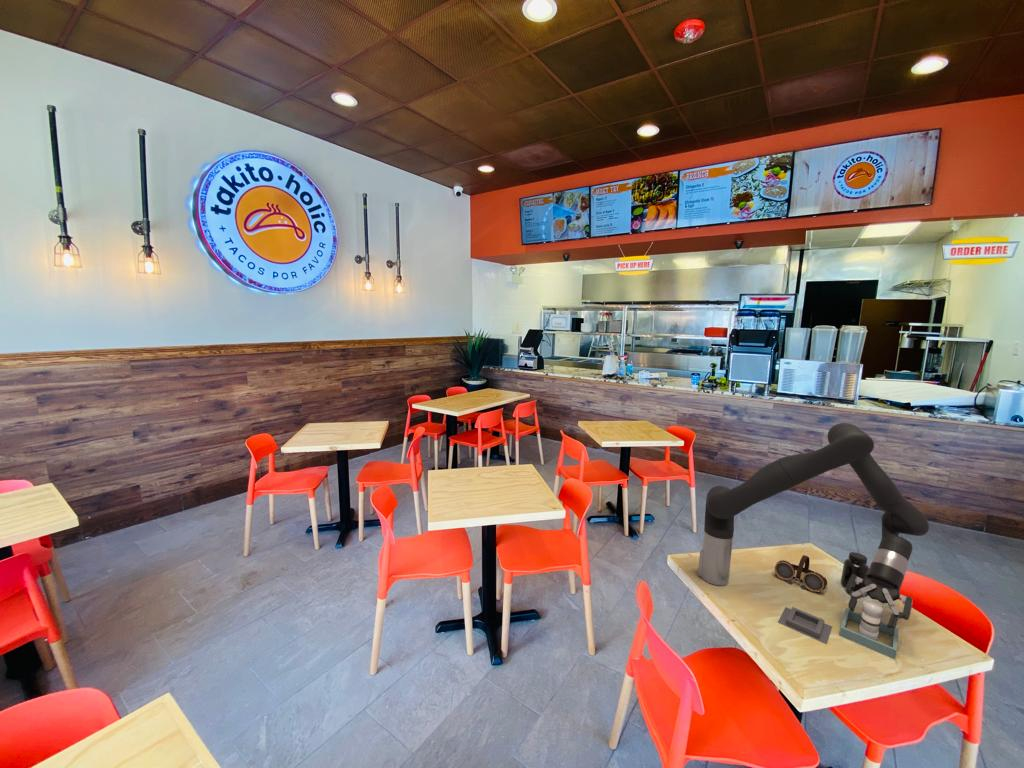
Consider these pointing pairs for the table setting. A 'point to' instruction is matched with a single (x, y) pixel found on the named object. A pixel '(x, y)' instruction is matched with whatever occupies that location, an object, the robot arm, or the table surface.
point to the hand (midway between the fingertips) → (869, 618)
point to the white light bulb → (870, 619)
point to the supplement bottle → (854, 569)
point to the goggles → (810, 579)
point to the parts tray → (868, 641)
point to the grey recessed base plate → (806, 624)
